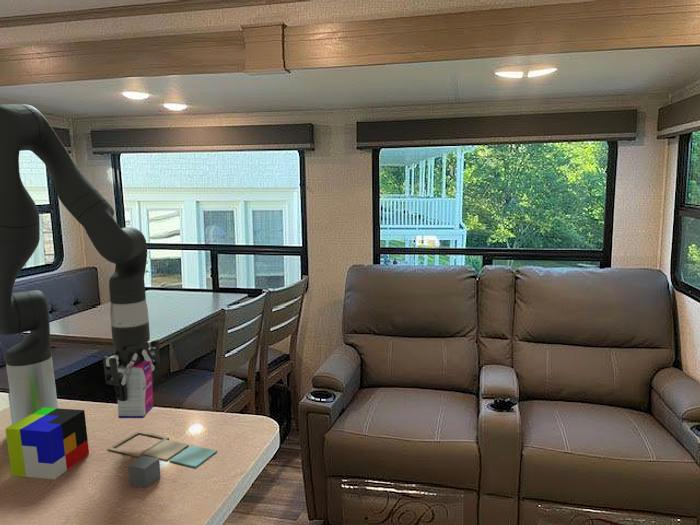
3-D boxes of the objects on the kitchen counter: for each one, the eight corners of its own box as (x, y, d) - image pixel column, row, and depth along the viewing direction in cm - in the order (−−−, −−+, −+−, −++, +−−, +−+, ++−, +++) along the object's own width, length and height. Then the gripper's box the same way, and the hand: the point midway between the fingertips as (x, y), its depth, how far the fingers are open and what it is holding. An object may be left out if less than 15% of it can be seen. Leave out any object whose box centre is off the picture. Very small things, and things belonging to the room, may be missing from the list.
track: (107, 450, 115) (107, 448, 115) (139, 432, 123) (138, 430, 123) (192, 470, 106) (191, 469, 106) (220, 449, 114) (220, 448, 114)
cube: (129, 484, 102) (127, 465, 101) (144, 474, 106) (142, 455, 105) (146, 488, 100) (144, 468, 100) (160, 477, 104) (158, 458, 104)
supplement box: (145, 418, 115) (140, 368, 113) (117, 418, 115) (113, 368, 113) (155, 407, 120) (151, 358, 118) (129, 407, 120) (125, 358, 119)
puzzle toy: (54, 479, 104) (49, 431, 103) (11, 475, 106) (5, 428, 105) (89, 454, 114) (84, 410, 113) (49, 450, 116) (43, 407, 115)
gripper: (117, 332, 106) (124, 409, 109) (166, 314, 119) (171, 383, 122) (89, 328, 109) (96, 403, 112) (140, 311, 122) (146, 379, 125)
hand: (135, 393), depth 117 cm, fingers closed on supplement box, 7 cm apart
